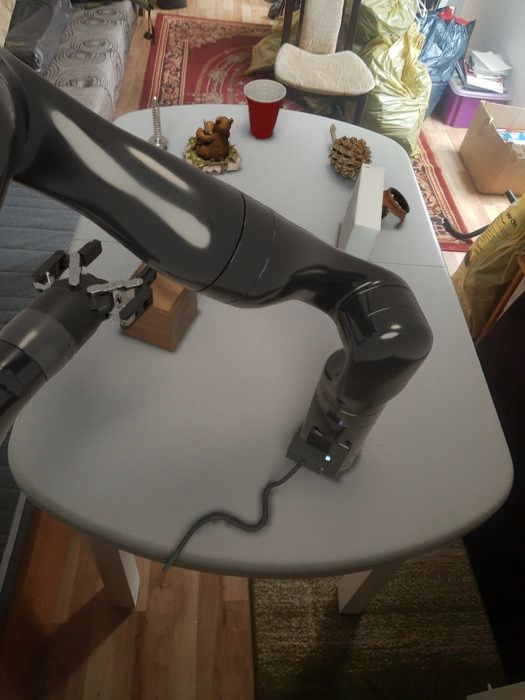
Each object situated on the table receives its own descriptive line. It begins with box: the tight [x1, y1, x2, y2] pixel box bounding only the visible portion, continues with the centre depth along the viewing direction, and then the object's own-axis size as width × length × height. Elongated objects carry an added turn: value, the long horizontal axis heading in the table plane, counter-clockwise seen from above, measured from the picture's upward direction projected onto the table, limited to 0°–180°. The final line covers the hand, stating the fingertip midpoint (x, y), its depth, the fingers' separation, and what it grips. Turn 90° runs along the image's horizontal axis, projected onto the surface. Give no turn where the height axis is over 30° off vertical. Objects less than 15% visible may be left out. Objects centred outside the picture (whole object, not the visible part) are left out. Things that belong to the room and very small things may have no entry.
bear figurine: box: [183, 114, 242, 174], centre depth 116 cm, size 14×15×12 cm
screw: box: [147, 95, 169, 150], centre depth 116 cm, size 13×5×5 cm
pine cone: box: [327, 122, 373, 181], centre depth 121 cm, size 22×10×10 cm, turn 19°
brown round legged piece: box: [381, 186, 411, 228], centre depth 110 cm, size 12×10×8 cm
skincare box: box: [337, 163, 386, 261], centre depth 97 cm, size 21×5×16 cm, turn 168°
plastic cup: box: [243, 79, 287, 140], centre depth 126 cm, size 11×11×12 cm
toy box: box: [114, 261, 198, 352], centre depth 83 cm, size 10×10×9 cm
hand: (126, 255), depth 65 cm, fingers open, 8 cm apart
